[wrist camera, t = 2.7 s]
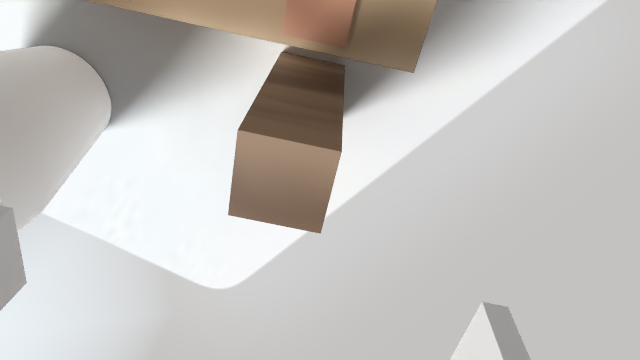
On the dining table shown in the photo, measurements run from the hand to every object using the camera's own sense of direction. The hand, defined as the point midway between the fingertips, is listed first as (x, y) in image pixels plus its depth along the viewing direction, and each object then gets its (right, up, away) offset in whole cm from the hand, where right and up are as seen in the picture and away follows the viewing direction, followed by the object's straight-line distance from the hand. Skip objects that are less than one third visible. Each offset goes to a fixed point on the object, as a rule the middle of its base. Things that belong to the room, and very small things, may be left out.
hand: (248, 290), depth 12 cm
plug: (+1, +9, +15) cm, 18 cm away
